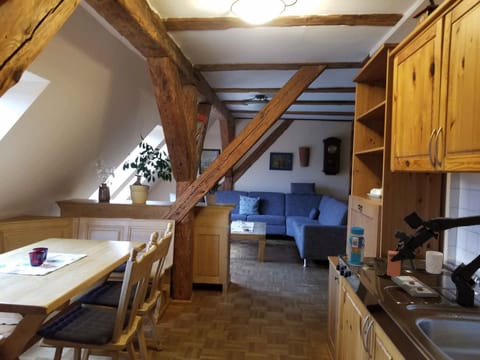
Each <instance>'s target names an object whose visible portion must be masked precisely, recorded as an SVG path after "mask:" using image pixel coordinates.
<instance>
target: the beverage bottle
mask: <svg viewBox="0 0 480 360" xmlns="http://www.w3.org/2000/svg"><path fill="white" fill-rule="evenodd" d="M364 234H365V228H363V227H359V226H351V228H350V236H349V238H348V241H349V242H348V252H347V253H348V255H347V264H348V265H350V266H353V267H362V266H364V258H365V249H366V248H365V247H366V245H365V242H366V240H365V238H364Z"/></svg>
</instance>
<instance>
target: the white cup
mask: <svg viewBox="0 0 480 360" xmlns="http://www.w3.org/2000/svg"><path fill="white" fill-rule="evenodd" d="M443 261H444V253H442V252H440V251H435V250H434V251H433V250H428V251H426V252H425V271H426V272H427V273H430V274H434V275H440V274H441V273H442V268H443Z"/></svg>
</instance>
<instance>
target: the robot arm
mask: <svg viewBox="0 0 480 360" xmlns="http://www.w3.org/2000/svg"><path fill="white" fill-rule="evenodd" d="M402 221H403V223H405V224H406V225H407V226H408V227H409V228H410V229H411V230H413V231H416V232H414V233H409V234H408V233H406V232H405V231H404V230H401V229H398V228H397V229H396V230H395V232H394V233H393V237H395V238H396V239H397V244H396V245H397V246H396V248H395V250H394V251H397V252H398V253H397V254H396V255H395V256H394V257H393V258H392V259H391V262H395V261H400V260H404V261H405V260H409V261H410V260H411V261H412V260H414V259H416V251H417V250H418V249H419V248H423V247H424V245H425V244H426V243H428V242H429V241H430V240H432V239H435V240H436V241H439V236H440V233H441V232H443V231H448V230H451V229H454V228H462V227H472V226H473V227H474V226H480V214H478V215H470V216H460V217H447V216H445V217H443V216H442V217H441V216H438V217H434V218H432V219H426V220H425V219H424V218H423V217H422V216H421V215H420V214H419V212H418V211H417V210H415V211H413V212H411V213H410V214H409V215H406V216H405V217H404V218H403V219H402ZM479 269H480V254H479V255H477V256H476V257H474V259H472V261H470V262H468V263H467V264H465V263H464V262H461V263H459V264H458V265H457V267H455V268H454V269H453V270H451V272H452V273H451V274H450V280H451V282H452V283H453V284H454V286H455V298H452V299H451V300H452V301H453V302H455V303H456V304H457V305H459V306H460V307H463V308H465V307H466V308H478V305H477V304H476V303H475V297H476V292H475V288H476V286H478V283H477V282H476V280H474V279H473V277H474V275H476V273H477V271H479Z"/></svg>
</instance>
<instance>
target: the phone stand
mask: <svg viewBox="0 0 480 360" xmlns="http://www.w3.org/2000/svg"><path fill="white" fill-rule="evenodd" d="M404 261H405V260H401V267H400V271H401V270H403V271H408V272H415V273H416V272H417V267H416V264H415V261H414V259H413V260H412V261H411V260H410V259H409V262H410V266H405V265H403V264H404V263H405V262H404Z"/></svg>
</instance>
